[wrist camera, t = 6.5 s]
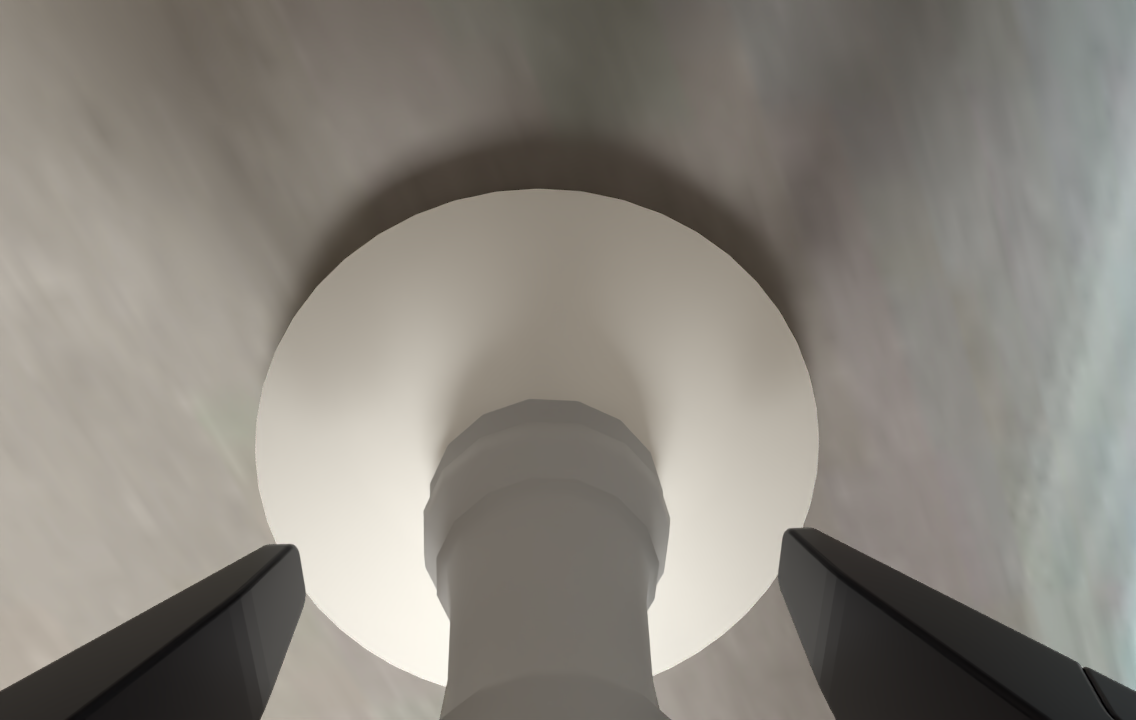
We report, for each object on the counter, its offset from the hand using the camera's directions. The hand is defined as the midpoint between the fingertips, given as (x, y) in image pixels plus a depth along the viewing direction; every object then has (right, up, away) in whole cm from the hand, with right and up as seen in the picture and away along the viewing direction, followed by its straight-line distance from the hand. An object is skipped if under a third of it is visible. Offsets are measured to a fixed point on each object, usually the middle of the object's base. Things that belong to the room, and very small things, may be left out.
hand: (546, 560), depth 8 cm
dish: (0, +1, +3) cm, 3 cm away
